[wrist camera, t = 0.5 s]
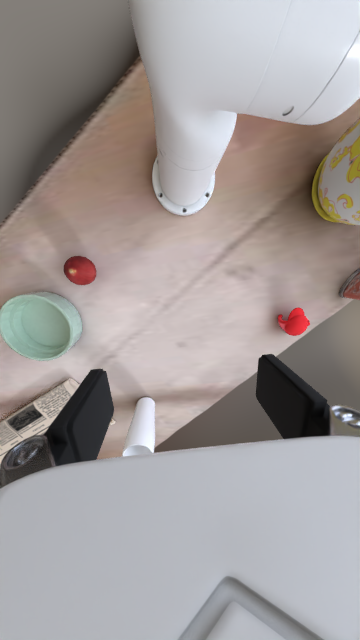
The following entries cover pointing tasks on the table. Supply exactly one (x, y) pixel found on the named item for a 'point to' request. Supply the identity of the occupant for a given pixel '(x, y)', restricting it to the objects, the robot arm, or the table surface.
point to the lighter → (351, 287)
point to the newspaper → (35, 416)
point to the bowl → (40, 325)
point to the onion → (80, 270)
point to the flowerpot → (340, 180)
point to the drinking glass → (141, 429)
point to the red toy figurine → (294, 322)
